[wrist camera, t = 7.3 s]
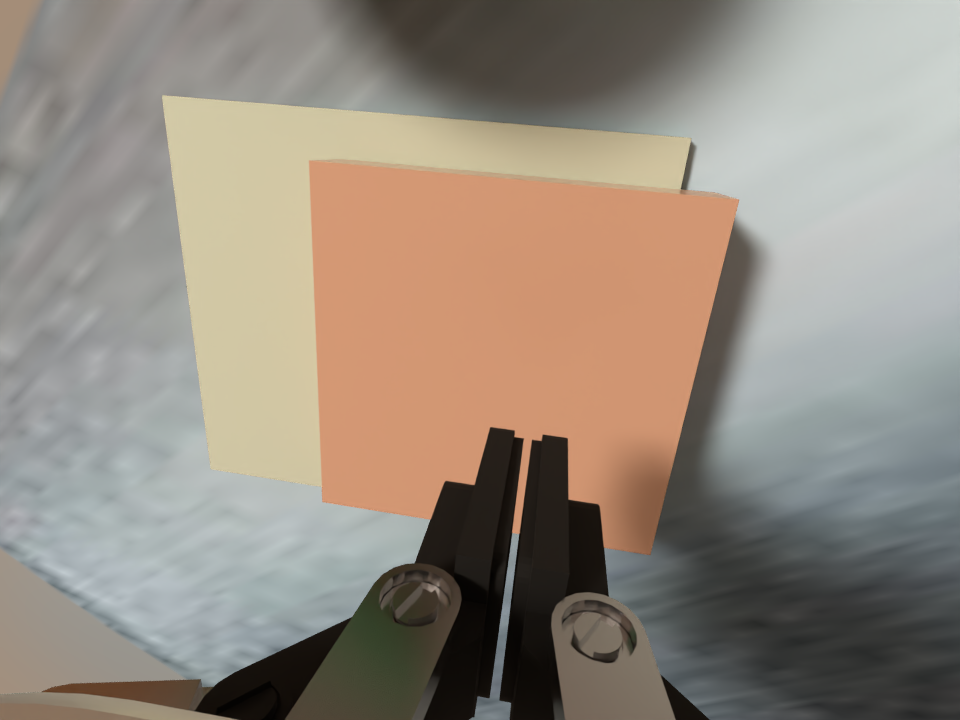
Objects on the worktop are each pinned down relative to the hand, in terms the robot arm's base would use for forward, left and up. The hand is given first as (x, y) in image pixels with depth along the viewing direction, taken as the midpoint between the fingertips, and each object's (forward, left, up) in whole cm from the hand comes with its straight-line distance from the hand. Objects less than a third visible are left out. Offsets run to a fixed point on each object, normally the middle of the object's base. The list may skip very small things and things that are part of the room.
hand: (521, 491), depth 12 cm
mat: (+5, 0, -9) cm, 10 cm away
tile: (-5, 0, -7) cm, 9 cm away
